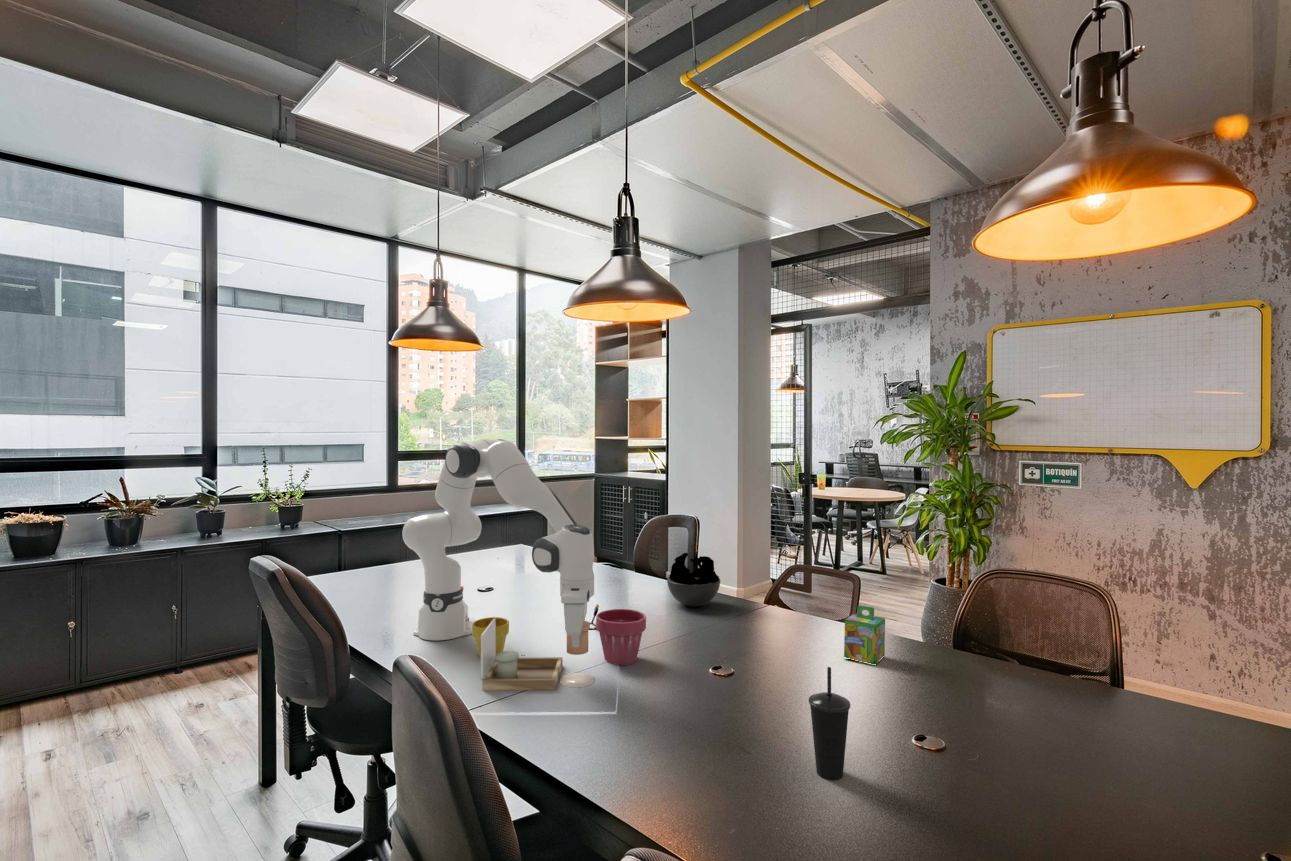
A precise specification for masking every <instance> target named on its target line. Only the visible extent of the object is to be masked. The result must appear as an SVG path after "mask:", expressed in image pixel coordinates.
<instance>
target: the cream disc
mask: <svg viewBox="0 0 1291 861" xmlns="http://www.w3.org/2000/svg"><path fill="white" fill-rule="evenodd" d="M594 682H595V677H594V675H592V674H589V673H586V672H574V673H573V672H572V673H568V674H564V675H563V676H561V677H559V683H560V685H561V686H563V687H567V688H575V689H576V688H584V687H587V686H590V685H592V684H593V683H594Z"/></svg>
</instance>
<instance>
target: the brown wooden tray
mask: <svg viewBox="0 0 1291 861" xmlns="http://www.w3.org/2000/svg"><path fill="white" fill-rule="evenodd" d="M562 668H563V656H561V657H560V656H556V657H555V656H554V657H553V656H551V657H549V656H548V657H545V656H544V657H543V656H542V657H538V656H537V657H533V656H532V657H529V656H527V657H519V658H518V660H517V678H516V679H497V661H495V663H494V664H493V666H492V668H491V669H490V671H489V672H488V674H487V676H486V677H485V679H483V681H482V691H483V692H484V691H488V692H489V691H492V692H493V691H555V690H556V688H557V684H558V682H559V680H560V675H561V671H562Z"/></svg>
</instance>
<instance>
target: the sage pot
mask: <svg viewBox="0 0 1291 861" xmlns="http://www.w3.org/2000/svg"><path fill="white" fill-rule="evenodd" d="M519 654H520V653H519V652H518V651H515V650H503V652H500V653H498V654H496V661H497V679H516V678H517V660H518V658H520V657H519Z"/></svg>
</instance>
